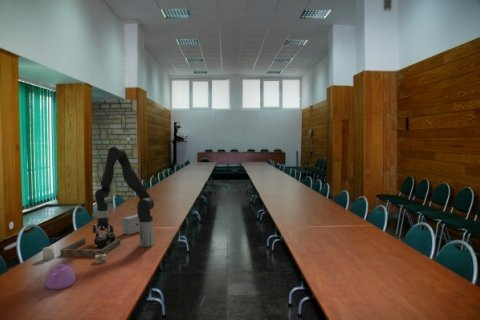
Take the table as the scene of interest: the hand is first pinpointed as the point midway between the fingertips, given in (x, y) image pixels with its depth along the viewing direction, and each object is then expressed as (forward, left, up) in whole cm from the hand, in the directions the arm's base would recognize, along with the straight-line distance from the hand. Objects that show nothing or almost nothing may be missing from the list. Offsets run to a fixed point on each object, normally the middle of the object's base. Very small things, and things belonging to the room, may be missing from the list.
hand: (103, 238), depth 245 cm
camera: (-4, +8, -3) cm, 9 cm away
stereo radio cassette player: (-11, -31, -3) cm, 33 cm away
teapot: (-13, +70, -3) cm, 71 cm away
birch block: (-17, +37, -3) cm, 41 cm away
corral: (0, +16, -3) cm, 16 cm away
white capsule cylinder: (+18, +35, -3) cm, 39 cm away
